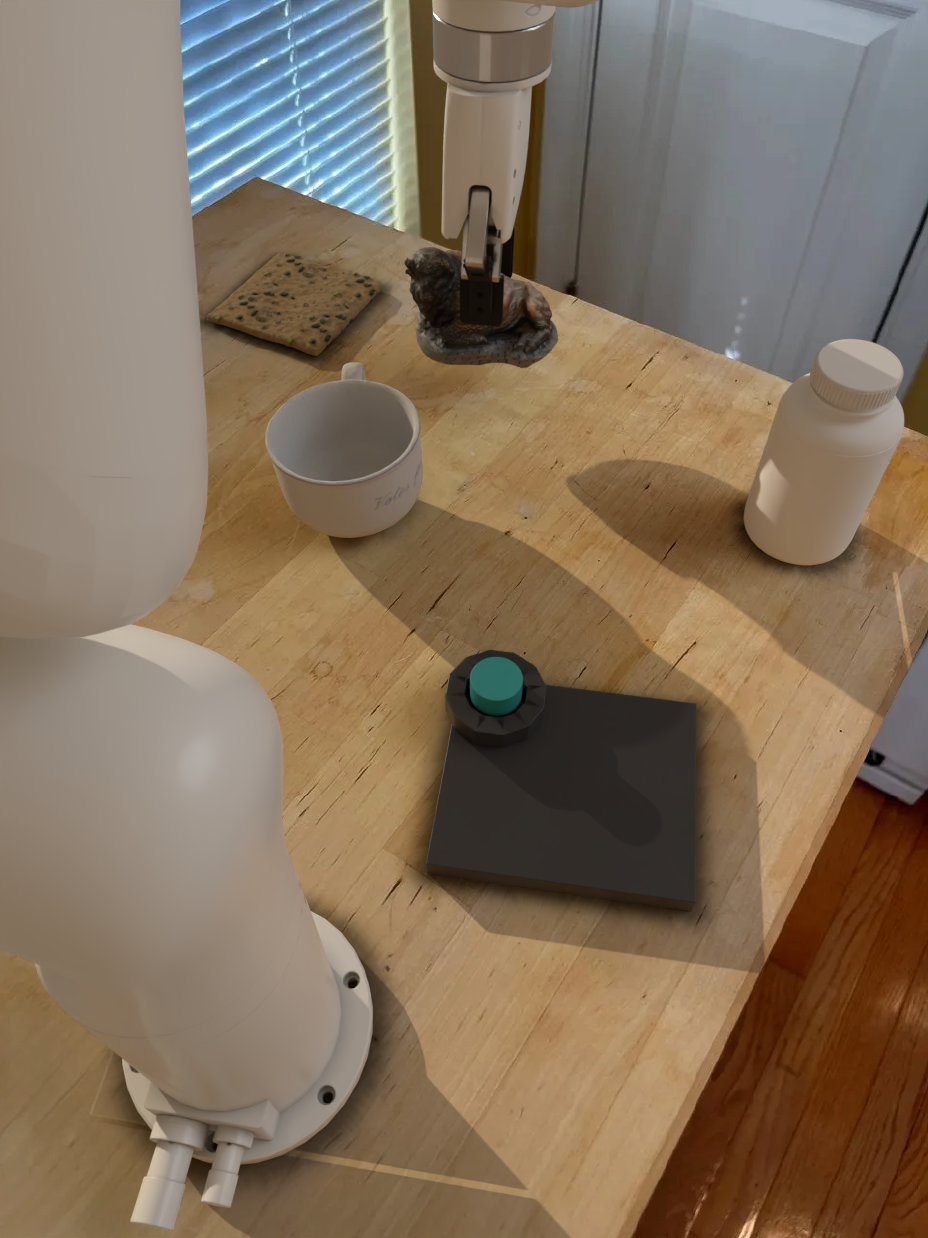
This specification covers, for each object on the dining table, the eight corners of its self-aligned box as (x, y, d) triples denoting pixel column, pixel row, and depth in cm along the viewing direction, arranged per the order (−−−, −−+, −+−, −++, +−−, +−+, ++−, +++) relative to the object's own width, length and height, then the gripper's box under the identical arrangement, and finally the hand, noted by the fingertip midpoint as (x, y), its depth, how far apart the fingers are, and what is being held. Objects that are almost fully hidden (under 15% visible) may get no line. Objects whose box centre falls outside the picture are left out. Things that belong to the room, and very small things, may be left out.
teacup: (405, 569, 68) (399, 489, 61) (262, 547, 69) (241, 466, 63) (446, 441, 76) (444, 359, 70) (317, 423, 77) (304, 341, 71)
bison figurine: (549, 324, 79) (558, 215, 71) (563, 381, 75) (575, 273, 67) (407, 335, 79) (400, 226, 70) (414, 393, 75) (407, 286, 66)
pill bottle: (718, 525, 70) (770, 359, 58) (784, 475, 73) (845, 308, 61) (806, 587, 67) (881, 423, 55) (871, 531, 70) (955, 365, 58)
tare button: (518, 719, 57) (519, 703, 55) (466, 712, 57) (466, 697, 56) (524, 676, 59) (525, 659, 57) (473, 669, 59) (474, 653, 58)
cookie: (277, 255, 92) (276, 246, 91) (385, 287, 89) (384, 278, 88) (204, 320, 86) (201, 311, 85) (317, 358, 82) (315, 349, 81)
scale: (691, 912, 52) (702, 892, 50) (417, 872, 54) (414, 851, 51) (692, 701, 61) (701, 675, 58) (455, 671, 62) (454, 645, 60)
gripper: (455, -12, 64) (456, 236, 79) (408, 97, 54) (419, 361, 68) (564, -6, 64) (545, 243, 78) (538, 106, 53) (522, 371, 67)
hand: (486, 296), depth 73 cm, fingers closed on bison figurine, 5 cm apart
